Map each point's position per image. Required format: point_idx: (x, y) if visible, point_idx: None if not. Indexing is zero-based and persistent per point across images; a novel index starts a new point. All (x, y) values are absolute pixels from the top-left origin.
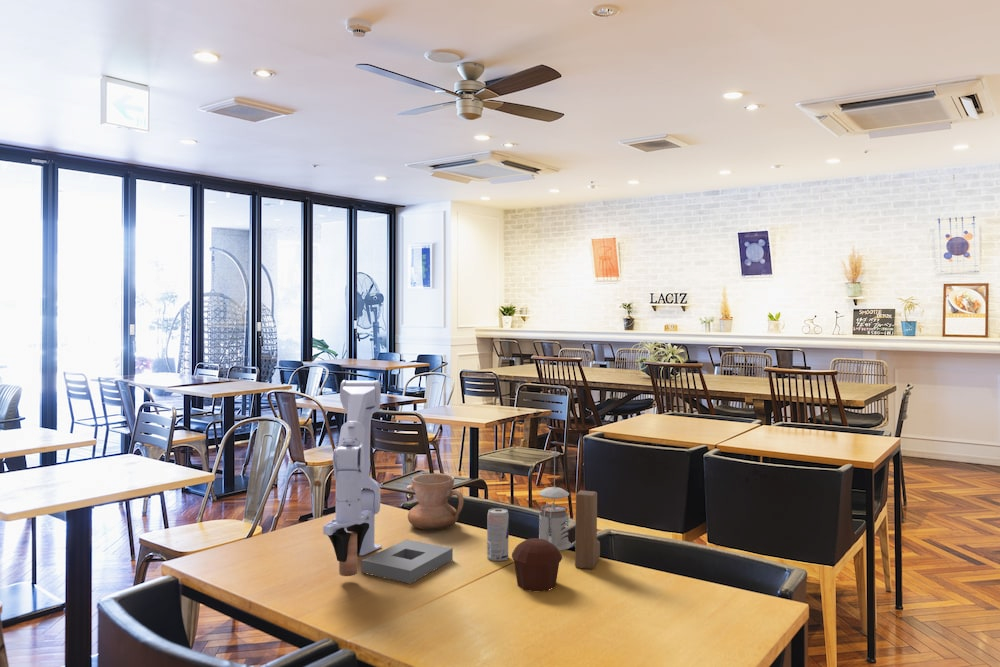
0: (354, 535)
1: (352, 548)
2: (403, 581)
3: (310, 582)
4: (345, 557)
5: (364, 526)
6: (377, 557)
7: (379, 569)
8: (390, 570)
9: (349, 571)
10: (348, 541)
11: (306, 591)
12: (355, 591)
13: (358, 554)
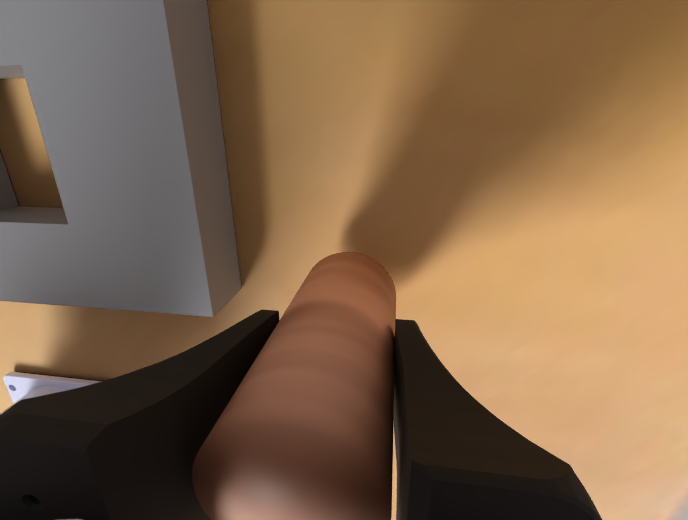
0: (294, 424)
1: (346, 341)
2: (206, 11)
3: None
4: (412, 330)
5: (80, 445)
6: (134, 270)
7: (211, 192)
8: (195, 110)
9: (379, 275)
10: (412, 403)
11: (531, 365)
12: (438, 172)
13: (267, 312)
